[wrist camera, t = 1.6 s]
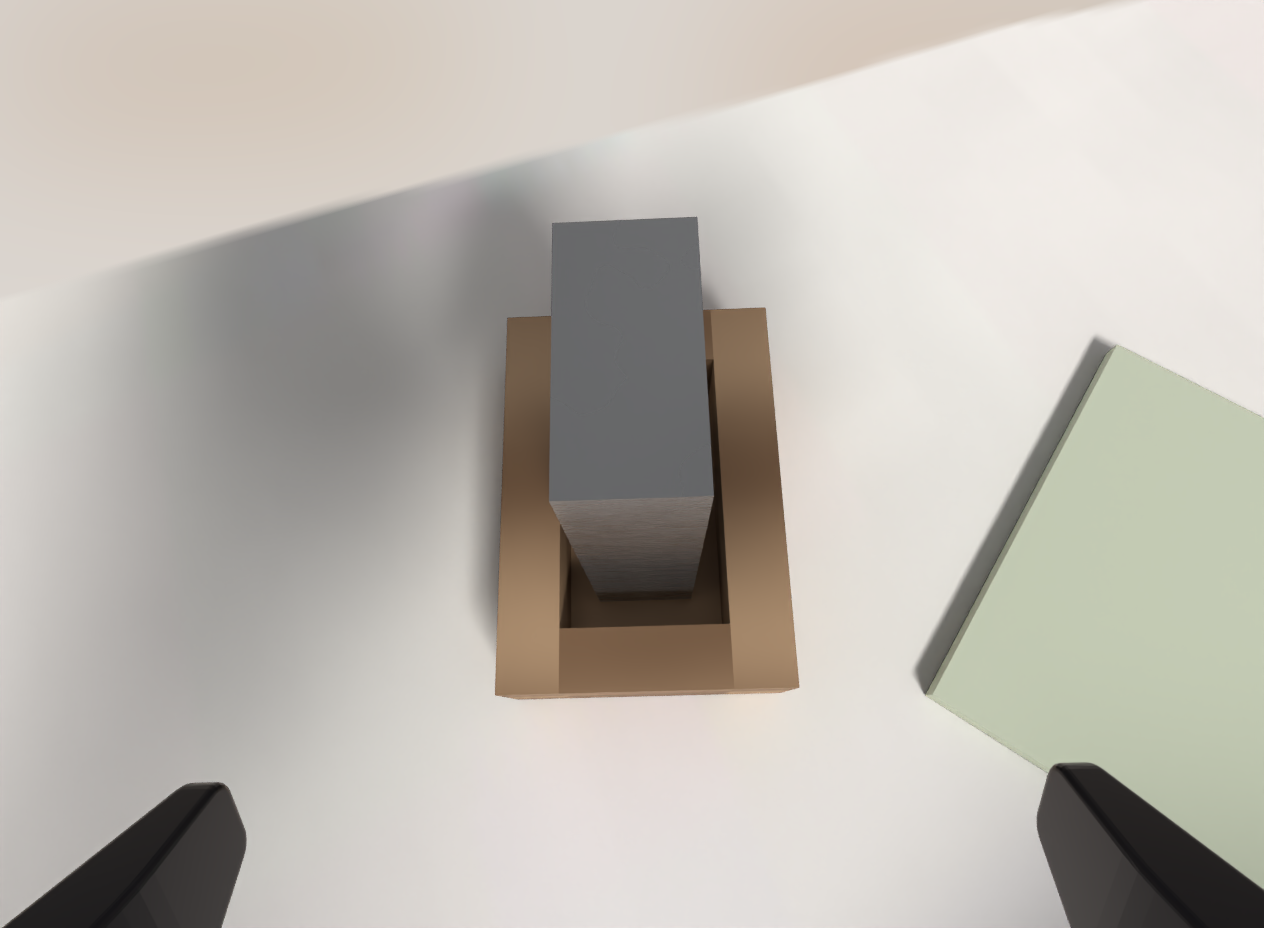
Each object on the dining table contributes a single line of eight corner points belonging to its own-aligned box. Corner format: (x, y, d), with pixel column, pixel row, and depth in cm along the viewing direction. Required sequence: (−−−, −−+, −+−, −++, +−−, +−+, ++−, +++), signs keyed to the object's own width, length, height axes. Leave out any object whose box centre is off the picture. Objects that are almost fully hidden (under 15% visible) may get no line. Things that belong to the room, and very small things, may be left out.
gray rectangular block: (691, 599, 21) (714, 495, 12) (599, 601, 21) (549, 501, 12) (683, 429, 23) (697, 216, 13) (598, 431, 23) (552, 223, 13)
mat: (1392, 991, 18) (1415, 1000, 17) (925, 695, 21) (932, 694, 20) (1528, 567, 21) (1552, 562, 20) (1106, 353, 23) (1117, 344, 23)
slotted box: (780, 692, 21) (799, 687, 18) (517, 699, 21) (495, 695, 18) (753, 357, 24) (765, 307, 21) (525, 365, 24) (507, 317, 21)
